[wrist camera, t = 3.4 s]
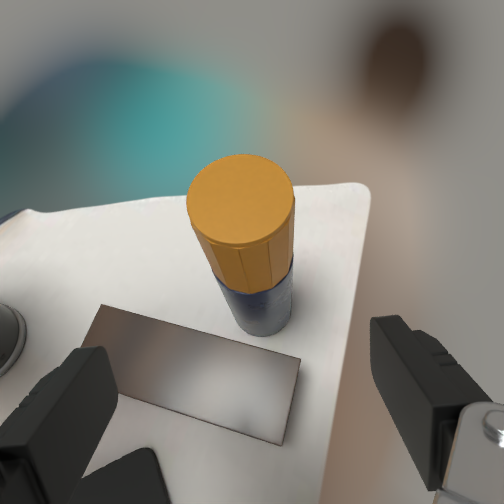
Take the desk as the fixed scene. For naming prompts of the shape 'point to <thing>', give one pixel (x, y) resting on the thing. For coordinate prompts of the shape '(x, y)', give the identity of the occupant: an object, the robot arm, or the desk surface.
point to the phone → (124, 482)
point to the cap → (244, 220)
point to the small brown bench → (198, 373)
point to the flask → (261, 306)
